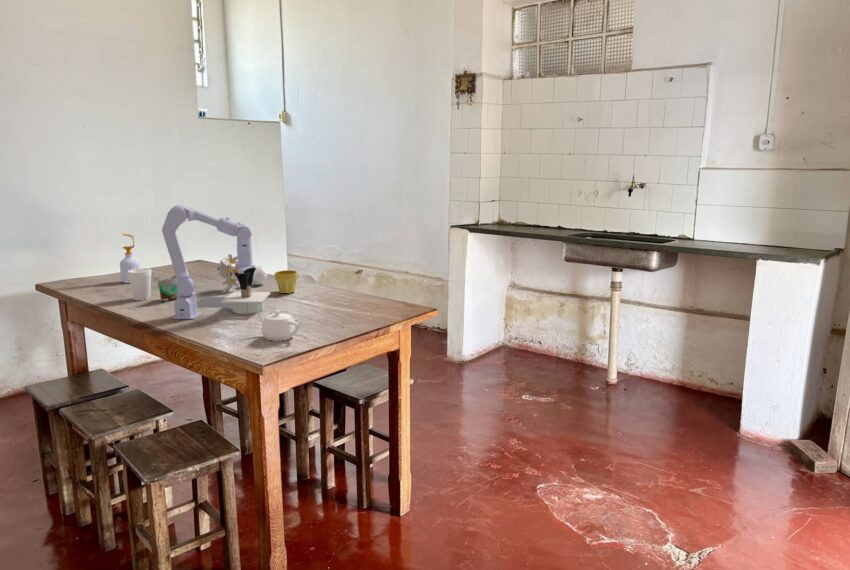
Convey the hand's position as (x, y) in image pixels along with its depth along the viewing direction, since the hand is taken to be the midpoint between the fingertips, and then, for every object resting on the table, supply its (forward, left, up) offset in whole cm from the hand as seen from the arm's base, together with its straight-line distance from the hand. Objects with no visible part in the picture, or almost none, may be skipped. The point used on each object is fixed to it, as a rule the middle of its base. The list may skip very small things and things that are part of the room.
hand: (246, 287), depth 255 cm
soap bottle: (+55, +74, -10) cm, 93 cm away
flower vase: (+42, +14, -10) cm, 45 cm away
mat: (+13, +17, -10) cm, 24 cm away
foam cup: (+20, +53, -10) cm, 58 cm away
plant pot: (+33, -9, -10) cm, 36 cm away
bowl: (0, 0, -10) cm, 10 cm away
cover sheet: (0, 0, -5) cm, 5 cm away
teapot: (-36, -21, -10) cm, 43 cm away
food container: (+18, +38, -10) cm, 43 cm away
